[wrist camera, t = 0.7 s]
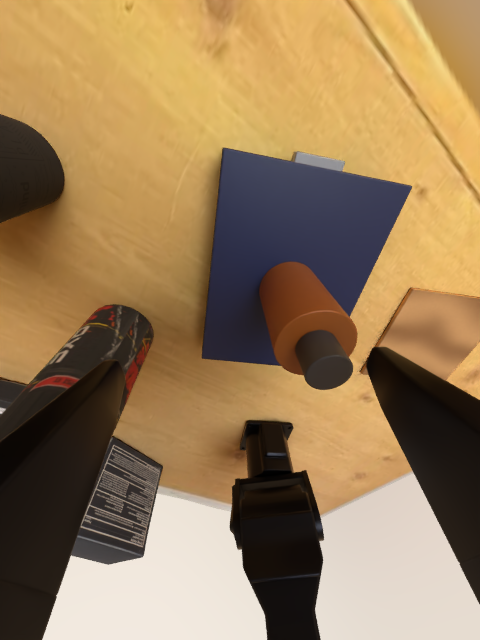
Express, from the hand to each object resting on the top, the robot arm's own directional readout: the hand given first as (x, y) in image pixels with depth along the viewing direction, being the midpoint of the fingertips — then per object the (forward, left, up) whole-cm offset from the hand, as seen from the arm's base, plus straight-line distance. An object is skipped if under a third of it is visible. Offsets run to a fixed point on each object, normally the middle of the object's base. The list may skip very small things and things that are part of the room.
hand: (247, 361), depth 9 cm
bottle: (-1, -4, -10) cm, 11 cm away
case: (-1, -4, -13) cm, 14 cm away
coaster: (-6, -22, -13) cm, 27 cm away
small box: (-33, +12, -13) cm, 38 cm away
